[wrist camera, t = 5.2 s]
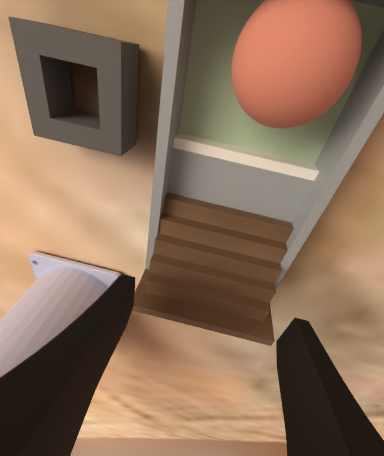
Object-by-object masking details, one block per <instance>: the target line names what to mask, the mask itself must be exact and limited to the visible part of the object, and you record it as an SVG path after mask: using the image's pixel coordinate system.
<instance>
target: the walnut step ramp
mask: <svg viewBox="0 0 384 456" xmlns="http://www.w3.org/2000/svg"><path fill="white" fill-rule="evenodd" d="M293 230H294V228H293V224H292V222H288V221H284V220H280V219H275V218H271V217H267V216H263V215H259V214H255V213H251V212H246V211H242V210H238V209H234V208H230V207H226V206H222V205H217V204H213V203H209V202H205V201H201V200H197V199H193V198H188V197H184V196H180V195H176V194H172V193H168V192H167V194H166V196H165V197H164V205H163V213H162V215H161V217H160V220H159V228H158V234H157V236H156V238H155V243H154V252H153V255H152V257H151V260H150V267H149V270H148V269H145V271H144V273H143V276H142V278H141V280H140V282H139V285H138V287H137V289H136V291H135V294H134V306H133V309H132V310H133V311H137V312H141V313H145V314H149V315H153V316H157V317H160V318H164V319H168V320H172V321H176V322H180V323H184V324H188V325H192V326H196V327H200V328H203V329H207V330H211V331H215V332H219V333H223V334H227V335H231V336H235V337H239V338H243V339H246V340H250V341H254V342H258V343H262V344H266V345H270V346H271V345H272V344H273V342H274V334H273V326H272V318H271V310H270V301H271V299H272V297H273V296H274V294H275V293H276V289H275V282H276V280H277V279H278V277H279V275H280V273H281V272H282V269H281V264H280V263H281V261H282V260H283V258H284V256H285V254H286V253H287V251H288V249H287V245H286V242H287V240H288V239H289V237H290V235H291V233H292V231H293Z"/></svg>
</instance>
